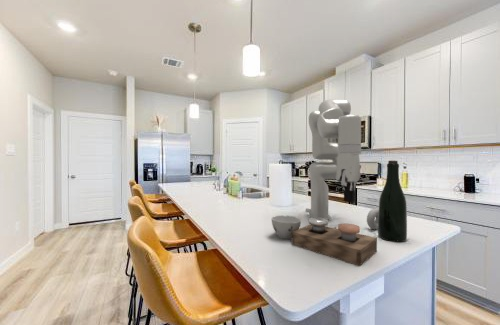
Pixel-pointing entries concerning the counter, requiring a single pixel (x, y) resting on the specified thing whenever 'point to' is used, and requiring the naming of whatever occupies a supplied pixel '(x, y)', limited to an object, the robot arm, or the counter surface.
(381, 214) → the dark green wine bottle
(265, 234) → the counter surface
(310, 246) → the block
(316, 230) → the button
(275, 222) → the teacup
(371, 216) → the donut
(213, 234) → the counter surface
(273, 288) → the counter surface
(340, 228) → the button
